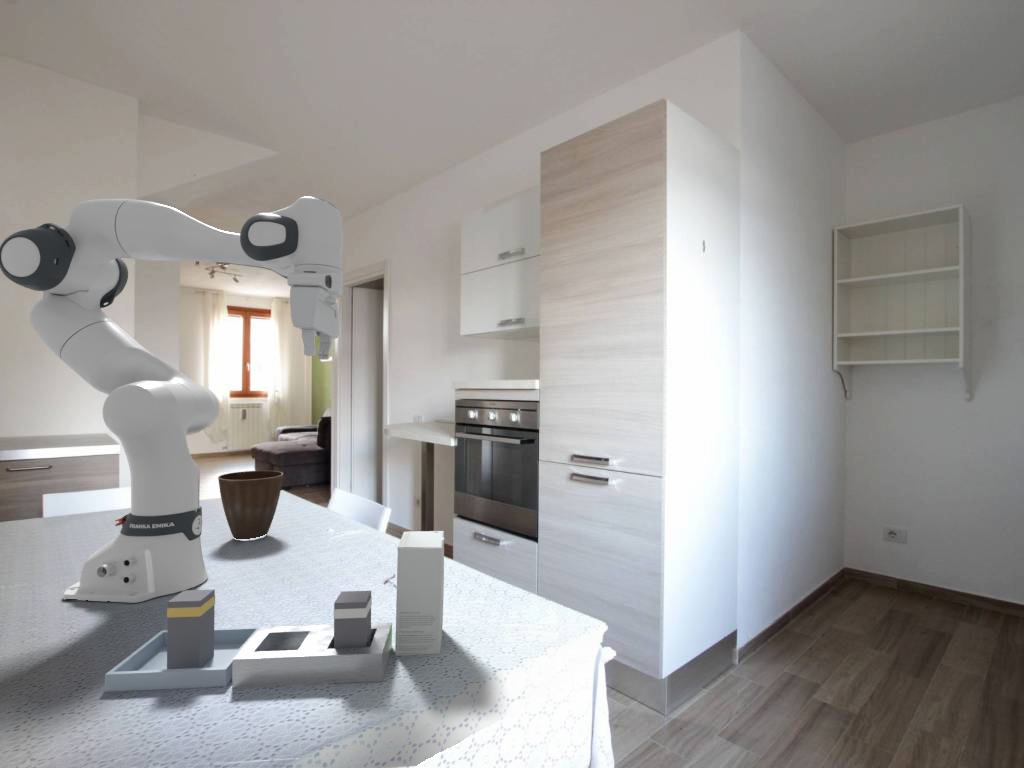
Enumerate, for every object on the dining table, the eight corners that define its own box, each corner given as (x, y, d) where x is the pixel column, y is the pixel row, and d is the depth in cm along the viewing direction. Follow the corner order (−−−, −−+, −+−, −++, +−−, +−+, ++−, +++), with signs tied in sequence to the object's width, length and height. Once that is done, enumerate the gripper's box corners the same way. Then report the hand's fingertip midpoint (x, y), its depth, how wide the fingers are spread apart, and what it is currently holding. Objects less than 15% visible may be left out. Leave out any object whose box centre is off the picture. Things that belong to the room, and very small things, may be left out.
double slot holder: (232, 692, 65) (232, 659, 65) (260, 656, 74) (260, 627, 74) (381, 685, 66) (382, 653, 66) (391, 650, 75) (391, 622, 75)
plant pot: (294, 535, 137) (295, 473, 137) (239, 549, 124) (239, 481, 125) (261, 527, 145) (261, 469, 145) (205, 540, 132) (206, 476, 133)
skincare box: (401, 632, 81) (402, 530, 81) (445, 631, 81) (445, 529, 82) (394, 660, 73) (394, 546, 73) (442, 658, 73) (443, 545, 73)
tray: (104, 696, 64) (104, 674, 64) (161, 648, 76) (161, 630, 76) (225, 690, 65) (225, 669, 65) (262, 644, 77) (262, 626, 77)
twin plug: (333, 673, 68) (333, 603, 68) (340, 657, 72) (341, 591, 72) (365, 672, 68) (366, 602, 69) (371, 656, 73) (371, 590, 73)
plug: (166, 672, 68) (167, 601, 68) (183, 656, 72) (184, 590, 72) (199, 670, 69) (200, 600, 69) (214, 655, 73) (215, 589, 73)
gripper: (316, 295, 111) (315, 361, 110) (283, 272, 90) (282, 353, 90) (347, 295, 111) (346, 361, 111) (321, 273, 91) (320, 353, 90)
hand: (317, 357), depth 100 cm, fingers open, 8 cm apart
